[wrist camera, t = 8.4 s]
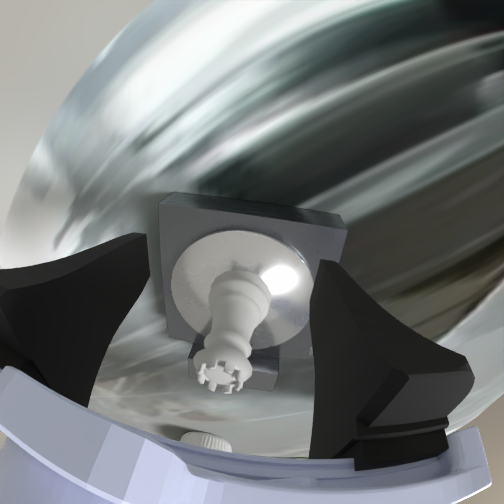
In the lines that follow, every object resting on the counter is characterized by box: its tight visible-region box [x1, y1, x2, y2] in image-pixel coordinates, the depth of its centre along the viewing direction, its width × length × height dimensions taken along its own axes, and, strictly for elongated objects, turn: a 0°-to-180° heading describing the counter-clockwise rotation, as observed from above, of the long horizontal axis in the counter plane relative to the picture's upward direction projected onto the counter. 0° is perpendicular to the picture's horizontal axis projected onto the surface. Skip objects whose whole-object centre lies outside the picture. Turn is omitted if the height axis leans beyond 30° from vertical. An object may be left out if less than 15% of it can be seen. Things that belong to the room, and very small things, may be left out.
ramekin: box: [179, 432, 232, 452], centre depth 40 cm, size 11×11×5 cm
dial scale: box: [158, 192, 348, 391], centre depth 22 cm, size 16×13×5 cm
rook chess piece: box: [193, 270, 271, 394], centre depth 16 cm, size 4×4×8 cm
